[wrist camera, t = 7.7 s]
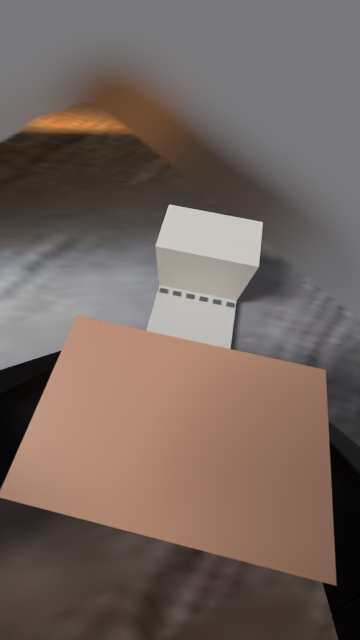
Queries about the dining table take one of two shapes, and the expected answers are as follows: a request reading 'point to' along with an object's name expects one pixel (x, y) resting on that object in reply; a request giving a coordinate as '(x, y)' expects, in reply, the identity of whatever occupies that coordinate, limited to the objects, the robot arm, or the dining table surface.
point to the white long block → (203, 273)
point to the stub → (184, 447)
